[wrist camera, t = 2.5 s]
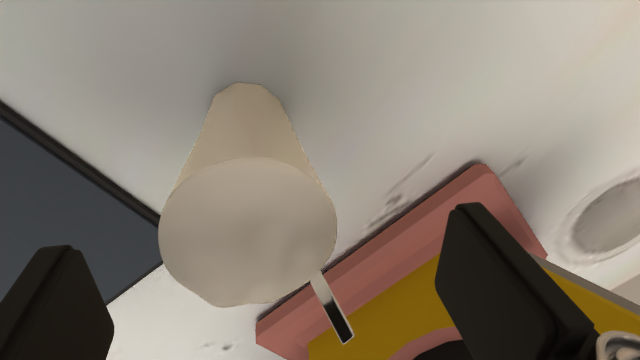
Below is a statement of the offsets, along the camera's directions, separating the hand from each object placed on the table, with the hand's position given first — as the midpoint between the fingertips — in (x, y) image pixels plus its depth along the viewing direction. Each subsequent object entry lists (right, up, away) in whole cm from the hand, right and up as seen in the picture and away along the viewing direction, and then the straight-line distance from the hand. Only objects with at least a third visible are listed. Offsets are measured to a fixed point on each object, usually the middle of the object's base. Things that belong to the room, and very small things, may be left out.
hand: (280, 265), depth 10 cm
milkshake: (-2, +5, +7) cm, 9 cm away
